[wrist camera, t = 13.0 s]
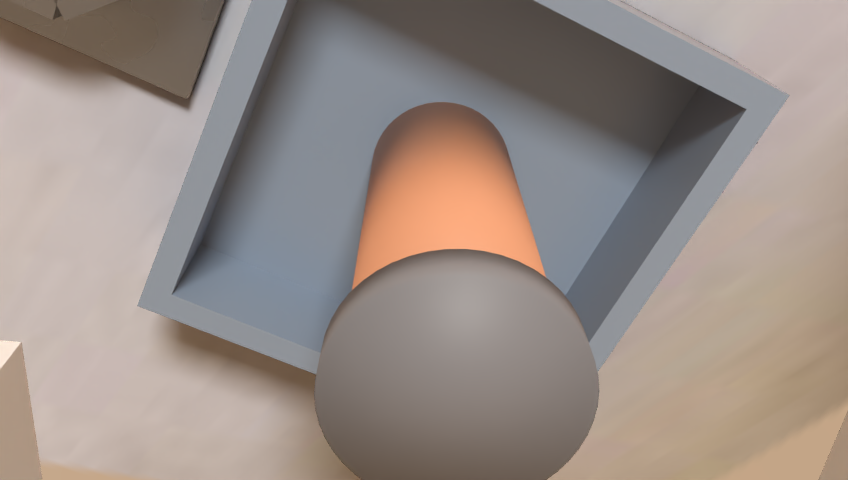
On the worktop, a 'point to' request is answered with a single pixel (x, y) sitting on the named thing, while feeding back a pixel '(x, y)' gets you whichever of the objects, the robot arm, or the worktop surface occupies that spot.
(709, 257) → the worktop surface
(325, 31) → the bin
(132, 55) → the socket base
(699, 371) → the worktop surface
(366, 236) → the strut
